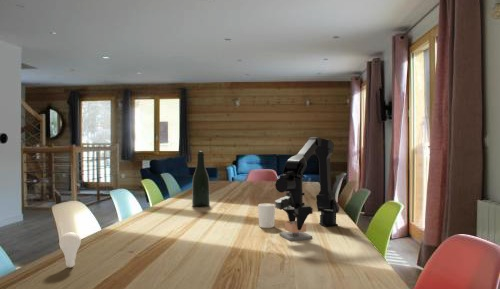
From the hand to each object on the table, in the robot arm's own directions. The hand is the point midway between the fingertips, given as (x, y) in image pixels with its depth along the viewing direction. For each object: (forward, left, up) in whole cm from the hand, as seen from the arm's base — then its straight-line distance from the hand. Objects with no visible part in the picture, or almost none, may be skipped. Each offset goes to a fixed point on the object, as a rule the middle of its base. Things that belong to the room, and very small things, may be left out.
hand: (295, 228), depth 162 cm
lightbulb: (+83, +11, -4) cm, 84 cm away
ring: (0, 0, -1) cm, 1 cm away
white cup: (+4, -22, -4) cm, 23 cm away
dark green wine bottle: (+20, -89, -4) cm, 91 cm away
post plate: (0, 0, -4) cm, 4 cm away
